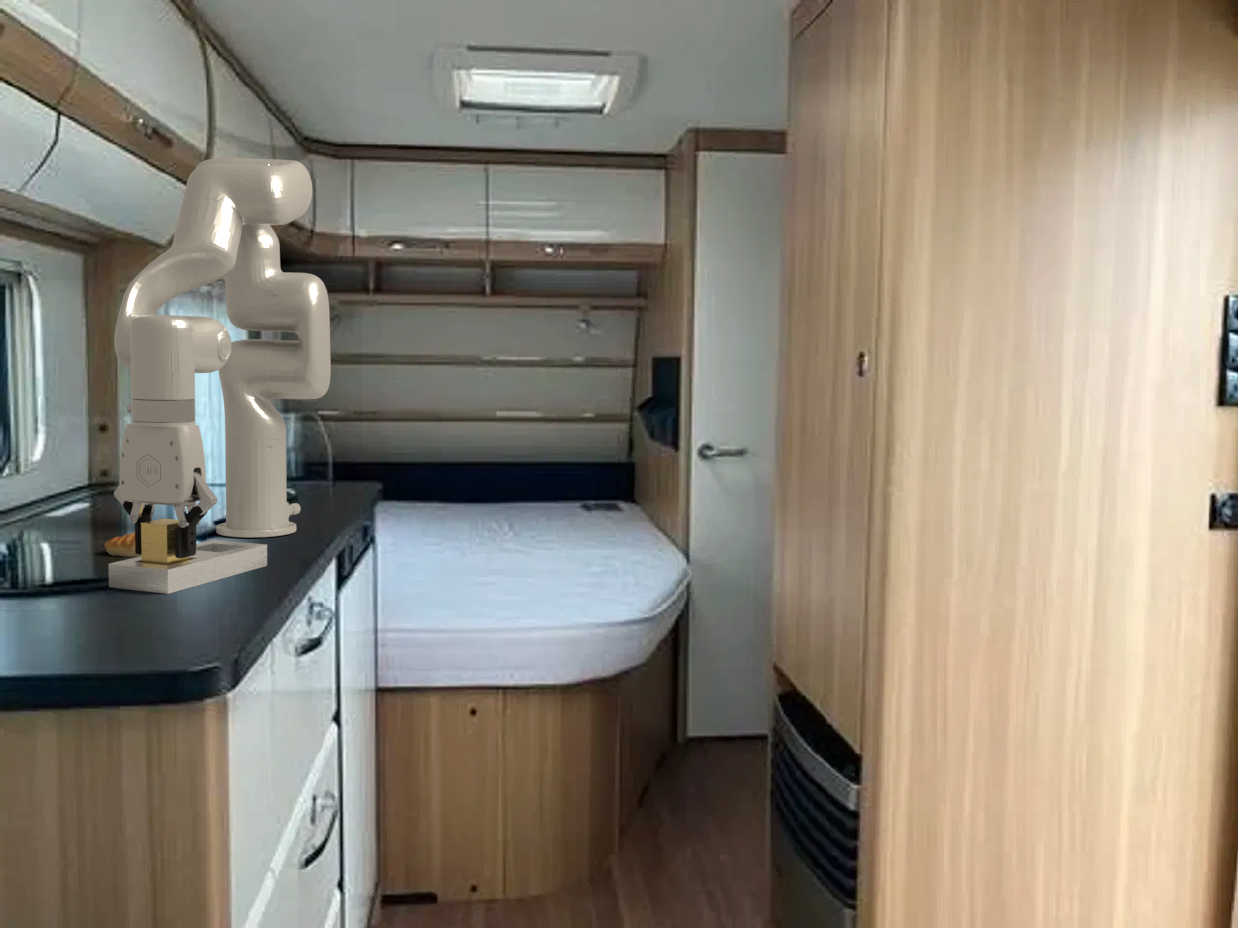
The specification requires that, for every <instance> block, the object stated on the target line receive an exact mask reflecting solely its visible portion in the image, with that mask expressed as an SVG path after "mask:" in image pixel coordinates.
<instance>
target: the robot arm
mask: <svg viewBox="0 0 1238 928" xmlns="http://www.w3.org/2000/svg"><path fill="white" fill-rule="evenodd" d="M312 197H313V182H312V179H311V176H310V173H309V171H308V169H307V167H306V166H305V165H304V164H303V163H302V162H300V161H297V160H293V159H269V158H268V159H267V158H251V157H217V158H210V159H206V160H203V161H201V162H199V163H198V164H197V165H196V167H195V169H194V170H193V171H192V172H190V175H189V176H188V178H187V182H186V185H185V190H184V193H183V198H182V202H181V206H180V210H179V214H178V218H177V222H176V223H177V224H176V226H175V231H174V236H173V240H172V244H171V247H170V248H168V249H167V250H166V251H165V252H164V253H162V254H159V256H158V257H156V258H155V259H153V260H152V261H151V262H150V263H148V264H147V265H146V266H145V267H144V268H143V269H142V270H141V271H139V273H138V274H137V275H135V277H133V279H132V281H130V282H129V284H128V286H127V288H126V289H125V291H124V293H123V297H122V300H121V303H120V307H119V308H120V309H119V311H118V312H119V313H118V316H117V318H116V319H117V320H116V324H115V331H114V336H113V337H114V339H113V340H114V341H113V343H114V350H115V354H116V357H117V360H118V361H119V362H120V364H122V365H123V366H124V367H126V368H127V369H129V370H130V398H131V399H130V400H131V401H130V403H128V404H127V405H126V412H128V414H130V415H131V423H127V424H126V426H125V430H124V432H123V438H122V442H121V449H120V451H121V452H120V464H119V465H120V466H119V484H118V486H117V487H116V489H115V490H114V492H113V496H114V497H115V498H116V499H117V501H118V502H119V504H121V505H122V507H123V509H124V511H126V513H127V514H128V515H129V521H130V522H131V524H132V523H133V524H134V532H135V553H136V554H140V555H141V554H142V546H141V523H142V522H148V521H153V520H152V519H153V517H154V513H155V509H156V505H163V506H164V505H165V506H173V508H174V509H173V510H174V512H175V516H176V520H178V523H179V525H180V526H179V527H175V556H176V558H185V557H189V556H193V555H195V554H196V544H197V526H198V525H200V524H201V522H202V519H203V518H204V517H205V516H206V515H207V513H208V511H210V510H211V509H212V508H213V507H214V506H215V505H216V504H217V503H218V498H217V496H216V495H215V494H214V492H213V491H212V489H211V488H210V486H209V485H208V483H207V480H206V479H207V476H206V473H207V472H206V461H205V460H206V459H205V450H204V443H203V439H202V434H201V430H200V425H198V424H196V378H195V377H196V374H206V373H207V374H208V373H209V374H210V373H213V372H218V375H219V380H220V386H221V391H222V397H223V398H222V399H223V407H224V432H225V434H224V437H225V438H224V440H225V441H224V443H225V444H224V446H225V448H224V450H225V451H224V452H225V453H224V454H225V457H224V458H225V522H223V523H220V524H217V525H216V526H215V532H216V533H217V535H220V536H224V537H231V538H269V537H271V538H272V537H279V536H285V535H290V534H294V533H296V532H297V524H296V523H295V522H293V521H290V520H289V517H290V516H293V515H298V514H299V513H301V505H300V504H299V503H297V502H295V503H290V504H289V501H288V500H287V498H288V497H287V496H288V495H287V490H288V489H287V426H286V423H285V420H284V418H283V416H282V415H281V414H280V411H278V409H277V408H276V407H275V406H274V404H273V403H272V402H271V400H277V399H278V400H317V399H320V398H322V397H324V396H325V395H326V394H327V393H328V391H329V387H330V383H331V374H332V373H331V372H332V370H331V368H332V364H331V326H330V325H331V321H330V320H331V319H330V318H331V317H330V315H331V314H330V302H329V301H330V300H329V295H328V289H327V287H326V285H325V283H324V281H323V280H322V279H321V278H320V277H318V276H317V275H315V274H312V273H308V272H288V271H287V272H284V271H282V269H281V251H280V248H281V246H280V240H279V238H278V235H277V234H276V232H275V231H274V229H273V228H272V226H280V225H281V226H282V225H287V224H291V222H294V221H296V220H297V219H299V218H301V217H303V215H304V214H306V212H307V211H308V210H309V207H310V205H311V202H312V199H313V198H312ZM223 278H224V280H225V282H224V283H225V286H224V288H225V303H226V312H227V317H228V320H229V322H230V323H231V324H232V326H233V327H235V328H237V329H241V330H244V331H246V330H247V331H255V332H275V333H276V332H283V333H284V332H285V333H295V334H296V335H297V337H298V340H286V339H285V340H283V339H263V338H262V339H260V338H259V339H258V338H257V339H255V338H250V339H240V340H235V341H232V337H231V335H230V333H229V331H228V328H227V327H226V326H225V325H224V324H223V323H222V322H221V321H219V320H217V319H215V318H213V317H209V316H208V317H207V316H199V315H198V316H197V315H195V316H192V315H173V314H171V315H170V314H169V315H166V314H156V313H157V312H158V310H159V309H160V308H161V307H162V306H164V304H166V303H167V302H169V301H171V300H172V299H174V298H176V297H178V296H180V295H182V294H185V293H187V292H191V291H193V290H195V289H198V288H202V287H204V286H206V285H209V284H210V285H211V284H212V283H215V282H217V281H219V280H222V279H223Z"/></svg>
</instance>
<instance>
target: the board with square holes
mask: <svg viewBox="0 0 1238 928" xmlns="http://www.w3.org/2000/svg"><path fill="white" fill-rule="evenodd" d="M267 566H268V544H267V543H266V544H264V543H263V544H262V543H254V542H253V543H252V542H241V541H233V540H232V541H231V540H220V539H211V540H206V541H202V542H196V554H195V555H193V556H189V560H188V561H184V562H180V563H176V564H172V565H160V564H150V563H142V556H140V557H131V558H127V559H124V560H119V561H115V562H111V563H108V588H111V589H122V590H130V591H131V590H132V591H140V592H149V593H156V594H157V593H159V594H166V595H169V594H173V593H175V592H179V591H184V590H185V589H186V590H187V589H190V588H192V587H193V588H194V587H197V586H200V585H204V584H207V583H211V582H212V583H213V582H214V581H219V580H222V579H225V578H229V577H232V576H235V575H236V576H237V575H239V574H243V573H246V572H250V571H253V570H257V569H261V568H264V567H267Z"/></svg>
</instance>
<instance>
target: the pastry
mask: <svg viewBox="0 0 1238 928" xmlns="http://www.w3.org/2000/svg"><path fill="white" fill-rule="evenodd" d="M103 545H104V546H103V547H104V548H105V552H106V553H108V554H109V555H112V556H119V557H126V558H136V557H140V556H142V554H141V555H140V554H136V553H135V531H134V532H132V533H128V534H127V533H126V534H124V535H122V536H115V537H112V538H111V539H108V541H106V542H105V543H104V544H103Z"/></svg>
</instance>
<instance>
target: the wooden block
mask: <svg viewBox="0 0 1238 928" xmlns="http://www.w3.org/2000/svg"><path fill="white" fill-rule="evenodd" d="M179 526H180V525H179V523H178V519H173V518H160V519H154V520H153V521H152V520H151V521H148V522H142V523H141V546H142V563H150V564H160V565H172V564H176V563H180V562H184V561H188V560H189V557H185V558H176V556H175V527H179Z"/></svg>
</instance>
